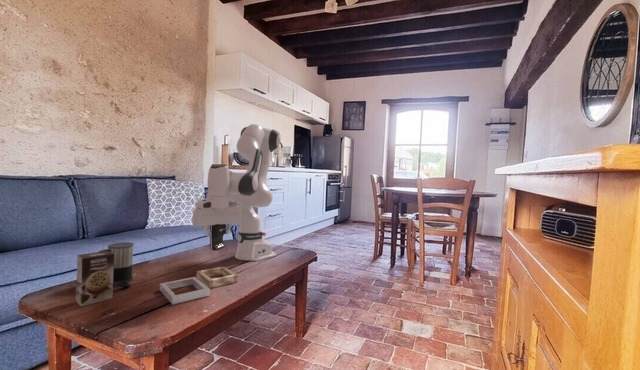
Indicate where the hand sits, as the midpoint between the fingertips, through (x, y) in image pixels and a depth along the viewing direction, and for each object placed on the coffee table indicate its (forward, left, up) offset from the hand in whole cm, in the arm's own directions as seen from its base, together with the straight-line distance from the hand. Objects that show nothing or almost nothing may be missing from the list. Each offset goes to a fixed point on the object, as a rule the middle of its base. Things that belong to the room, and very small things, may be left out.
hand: (217, 234), depth 125 cm
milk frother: (+32, -18, -20) cm, 41 cm away
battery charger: (-1, 0, -6) cm, 6 cm away
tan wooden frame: (0, 0, -20) cm, 20 cm away
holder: (+15, +6, -20) cm, 25 cm away
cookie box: (+41, -5, -20) cm, 46 cm away
